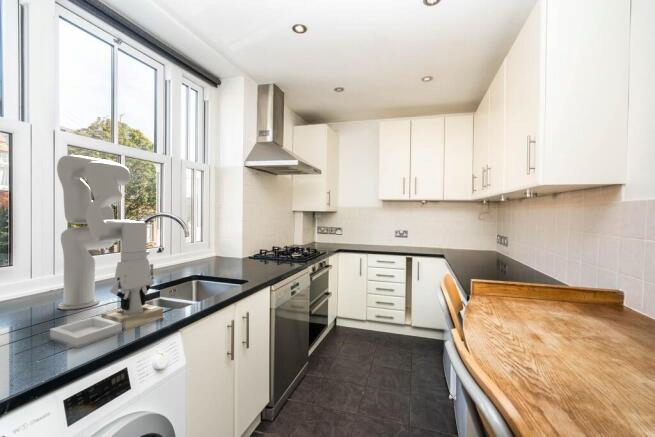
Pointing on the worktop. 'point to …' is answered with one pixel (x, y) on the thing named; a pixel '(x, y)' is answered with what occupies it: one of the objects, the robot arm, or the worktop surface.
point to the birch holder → (134, 316)
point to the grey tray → (85, 331)
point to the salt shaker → (134, 302)
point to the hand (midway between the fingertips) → (133, 306)
